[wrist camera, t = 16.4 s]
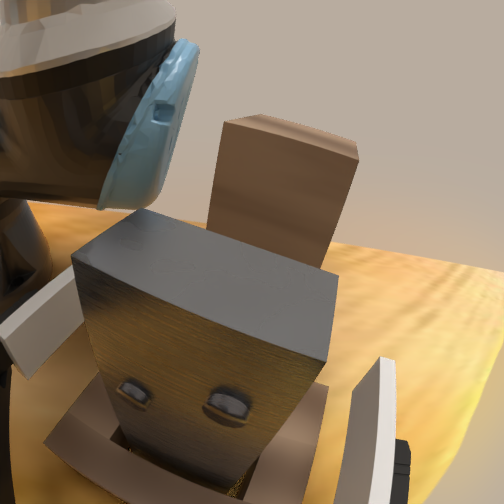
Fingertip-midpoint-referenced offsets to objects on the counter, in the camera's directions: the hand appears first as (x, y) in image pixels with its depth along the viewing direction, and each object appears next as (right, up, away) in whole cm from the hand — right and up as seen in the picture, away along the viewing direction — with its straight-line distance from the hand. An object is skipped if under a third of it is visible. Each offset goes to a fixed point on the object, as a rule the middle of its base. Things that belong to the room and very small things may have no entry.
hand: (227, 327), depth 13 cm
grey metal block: (-3, -10, +3) cm, 11 cm away
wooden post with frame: (-2, -8, +6) cm, 11 cm away
